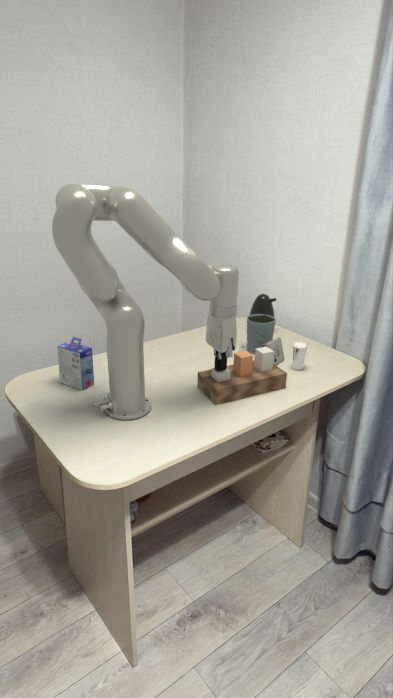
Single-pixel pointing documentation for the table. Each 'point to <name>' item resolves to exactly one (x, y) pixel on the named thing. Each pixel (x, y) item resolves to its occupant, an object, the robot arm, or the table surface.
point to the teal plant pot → (259, 330)
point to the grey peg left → (220, 375)
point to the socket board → (241, 384)
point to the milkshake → (299, 355)
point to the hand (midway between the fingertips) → (220, 369)
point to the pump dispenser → (263, 305)
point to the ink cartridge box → (75, 364)
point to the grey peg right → (264, 359)
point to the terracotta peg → (243, 363)
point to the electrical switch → (275, 349)
